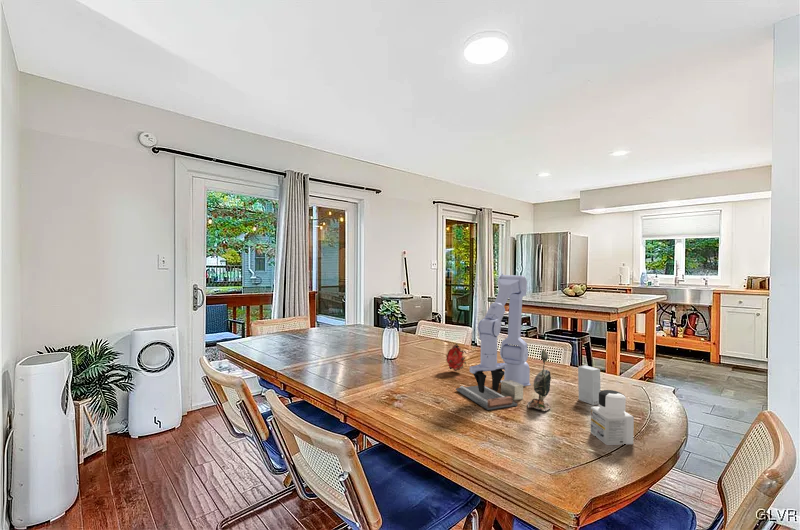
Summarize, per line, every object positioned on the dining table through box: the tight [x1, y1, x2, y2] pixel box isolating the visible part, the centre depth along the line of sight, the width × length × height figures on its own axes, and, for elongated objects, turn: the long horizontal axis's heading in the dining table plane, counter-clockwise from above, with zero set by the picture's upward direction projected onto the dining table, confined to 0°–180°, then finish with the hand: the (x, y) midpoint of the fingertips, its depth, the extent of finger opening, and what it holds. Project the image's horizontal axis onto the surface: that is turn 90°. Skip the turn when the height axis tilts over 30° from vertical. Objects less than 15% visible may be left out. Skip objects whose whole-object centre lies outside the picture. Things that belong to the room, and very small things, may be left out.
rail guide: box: [455, 385, 519, 411], centre depth 139 cm, size 12×21×3 cm, turn 21°
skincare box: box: [577, 364, 602, 406], centre depth 136 cm, size 6×4×12 cm
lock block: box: [500, 380, 524, 402], centre depth 141 cm, size 4×7×5 cm, turn 27°
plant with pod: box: [526, 349, 552, 412], centre depth 131 cm, size 8×11×20 cm
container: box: [590, 389, 635, 446], centre depth 108 cm, size 8×8×13 cm
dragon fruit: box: [445, 343, 467, 372], centre depth 172 cm, size 8×8×12 cm
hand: (488, 391), depth 137 cm, fingers open, 5 cm apart
